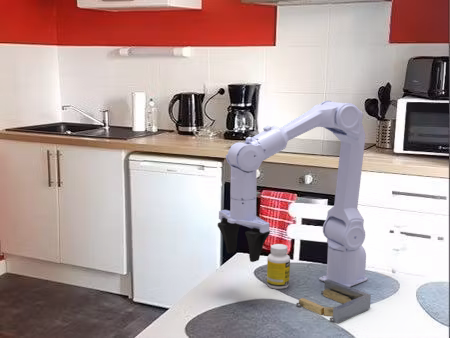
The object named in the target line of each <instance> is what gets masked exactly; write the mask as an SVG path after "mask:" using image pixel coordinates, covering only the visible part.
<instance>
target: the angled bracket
mask: <svg viewBox="0 0 450 338" xmlns="http://www.w3.org/2000/svg"><path fill="white" fill-rule="evenodd" d="M323 288H324V290H321V291H320V294H321V295H322V296H323V297H326V298H328V299H330V300H333V301H335V302H337V303H341V304H340V305H337V306H334V307H330V306H328V307H327V306H323V305H320V304H318V303H316V302H314V301H312V300H309V299H307V298H304V297H301V298H299V299H298V302H296V303H295V304H296V305H295V306H296V308H301V307H303V308H304V309H307V310H309V311H311V312H313V313H314V314H315V313H316V314H317V315H321V316H325V317H326V316H327V317H329V322H331V323H334V324H335V323H336V324H339V323H342V322H344V321H347V320H349V319H351V318H353V317H355V316H358V315H360V314H362V313H364V312H366V311H369V309H370V308H371V297H372V296H371V294H369V293H366V292H364V291H361V290H358V289H356V288H354V287H352V286H351V287H348V286H345V285H343V284H340V283H337V282H335V281H332V280H329V279H327V280H325V282H324V287H323Z"/></svg>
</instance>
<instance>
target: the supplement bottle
mask: <svg viewBox="0 0 450 338" xmlns="http://www.w3.org/2000/svg"><path fill="white" fill-rule="evenodd" d="M288 249H289V248H288V245H285V244H282V243H275V244H271V245H270V253H269V254H268V256H267V261H266V262H267V267H266V286H268V287H269V288H271V289H276V290H283V289H287V288H288V287H289V286H290V271H291V270H290V269H291V256H290V255H288Z"/></svg>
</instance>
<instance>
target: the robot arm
mask: <svg viewBox="0 0 450 338" xmlns="http://www.w3.org/2000/svg"><path fill="white" fill-rule="evenodd" d="M363 117H364V113H363V112H362V110H361V109H359V108H358V106H357V105H356V104H354V103H351V102H339V101H338V102H337V101H336V102H335V101H332V100H324V101H322V102H321V103H317V104H315V105H313V106H312V107H311V108H310V109H309V110H307V111H306V112H303V114H300V115H299V116H298V117H295V118H294V119H293V120H291V121H289V122H287V124H284V125H283V126H281V127H278V126H275V125H273V126H269V125H267V126H265V127H263V131H261V132H260V133H257V134H255V135H254V136H248V137H246V138H245V141H244V142H240V141H239V142H235V143H233V144H232V145H231V146H230V147H229V149H228V151H227V154H225V160H226V162H227V164H229V167H230V189H229V191H230V192H229V193H230V210H228V209H223V210H218V219H219V220H221V222H219V221H218V223H217V227H218V229H219V230H220V233H221V235H222V238H223V240H224V244H225V247H226V252H227V254H231V253H236V252H237V247H238V234H239V230H240V227H241V226H243V227H247V228H249V229H251V230H248V231H244V235H245V237H246V240H247V244H248V256H249V257H248V258H249V262H250V263H251V262H252V263H255V262H258V261H259V260H260V256H261V253H262V251H263V250H262V249H263V247H264V244H265V242H266V240H267V238H268V237H269V236H270V234H271V230H270V222H268V221H266V220H264V219H262V218H260V217H259V216H257V185H258V183H257V174H258V173H257V170H258V169H259V168H260V166H261V165H262V163H263V161H266V160H267V159H269V158H271V157H272V156H274V155H276V154H278V153H280V152H281V151H284V150H285V149H286V148H287V145H288V142H289V141H291V140H293V139H295V138H298V137H299V136H301V135H303V134H305V133H307V132H309V131H311V130H313V129H316V128H319V127H320V128H324V129H326V130H328V131H330V132H332V134H333V135H334V136H335V138H337V139H338V141H340V149H339V156H338V157H339V159H338V166H337V177H336V187H335V195H334V202H333V203H334V205H333V206H332V207H331V208H330V209H329V210H328V211H327V215H326V219H325V220H324V223H323V224H322V233H323V236H324V237H325V238H326V240H327V241H326V243H327V259H326V260H327V262H326V264H327V265H326V267H327V269H326V275H322V276H321V277H319V281H322V282H324V283H325V280H327V279H329V280H332V281H335V282H337V283H340V284H343V285H345V286H348V287H351V288H352V287H354V286H356V285H358V284H361V283H363V282H366V281H369V280H368V279H369V278H368V277H366V265H367V263H366V262H367V253H366V249H365V248H364V246H363V243H364V242H365V240H366V231H365V228H364V227H365V226H364V222H365V221H364V218H363V215H362V214H361V213H360V211H359V210H358V208H359V207H358V206H359V205H358V204H359V196H360V189H361V180H362V178H361V177H362V171H363V170H362V169H363V162H364V161H363V160H364V152H365V145H366V144H365V143H366V131H365V128H364V126H363V125H364V124H363Z"/></svg>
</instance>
